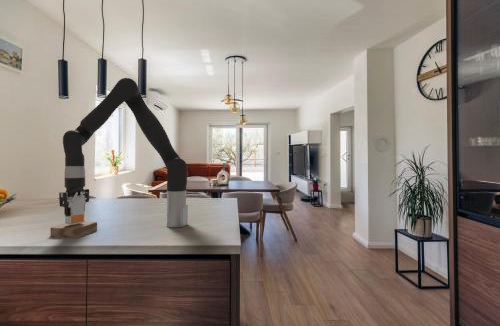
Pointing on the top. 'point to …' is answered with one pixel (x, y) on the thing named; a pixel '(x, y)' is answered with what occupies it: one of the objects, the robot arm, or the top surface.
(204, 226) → the top surface
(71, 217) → the skincare box
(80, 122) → the robot arm
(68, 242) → the top surface
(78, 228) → the walnut block
